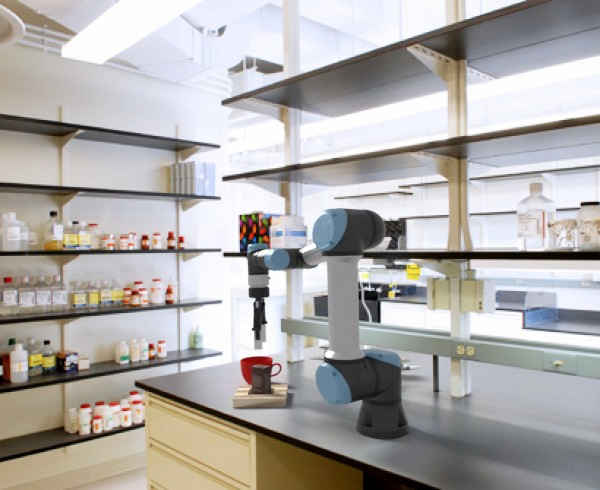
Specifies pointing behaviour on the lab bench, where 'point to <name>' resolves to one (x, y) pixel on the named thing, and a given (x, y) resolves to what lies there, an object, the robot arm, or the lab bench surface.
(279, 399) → the shallow beige tray
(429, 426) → the lab bench surface
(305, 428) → the lab bench surface
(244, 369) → the ceramic cup
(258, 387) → the box
